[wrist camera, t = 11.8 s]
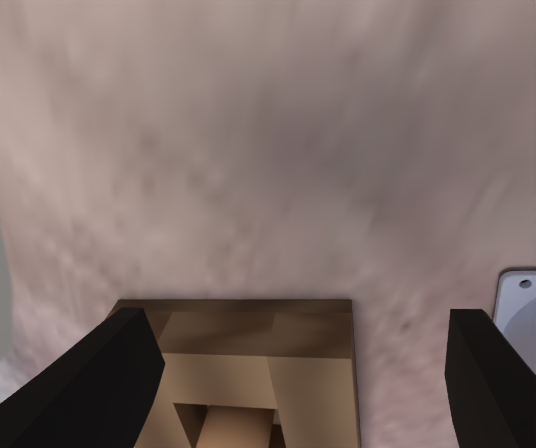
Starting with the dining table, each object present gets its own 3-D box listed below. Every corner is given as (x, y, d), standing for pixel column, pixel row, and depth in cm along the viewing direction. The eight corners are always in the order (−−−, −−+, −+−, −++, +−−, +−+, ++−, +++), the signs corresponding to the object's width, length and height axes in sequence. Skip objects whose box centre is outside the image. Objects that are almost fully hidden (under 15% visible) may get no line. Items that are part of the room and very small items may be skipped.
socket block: (351, 300, 22) (351, 359, 19) (361, 450, 29) (362, 513, 26) (118, 299, 26) (83, 350, 22) (178, 436, 33) (157, 490, 29)
